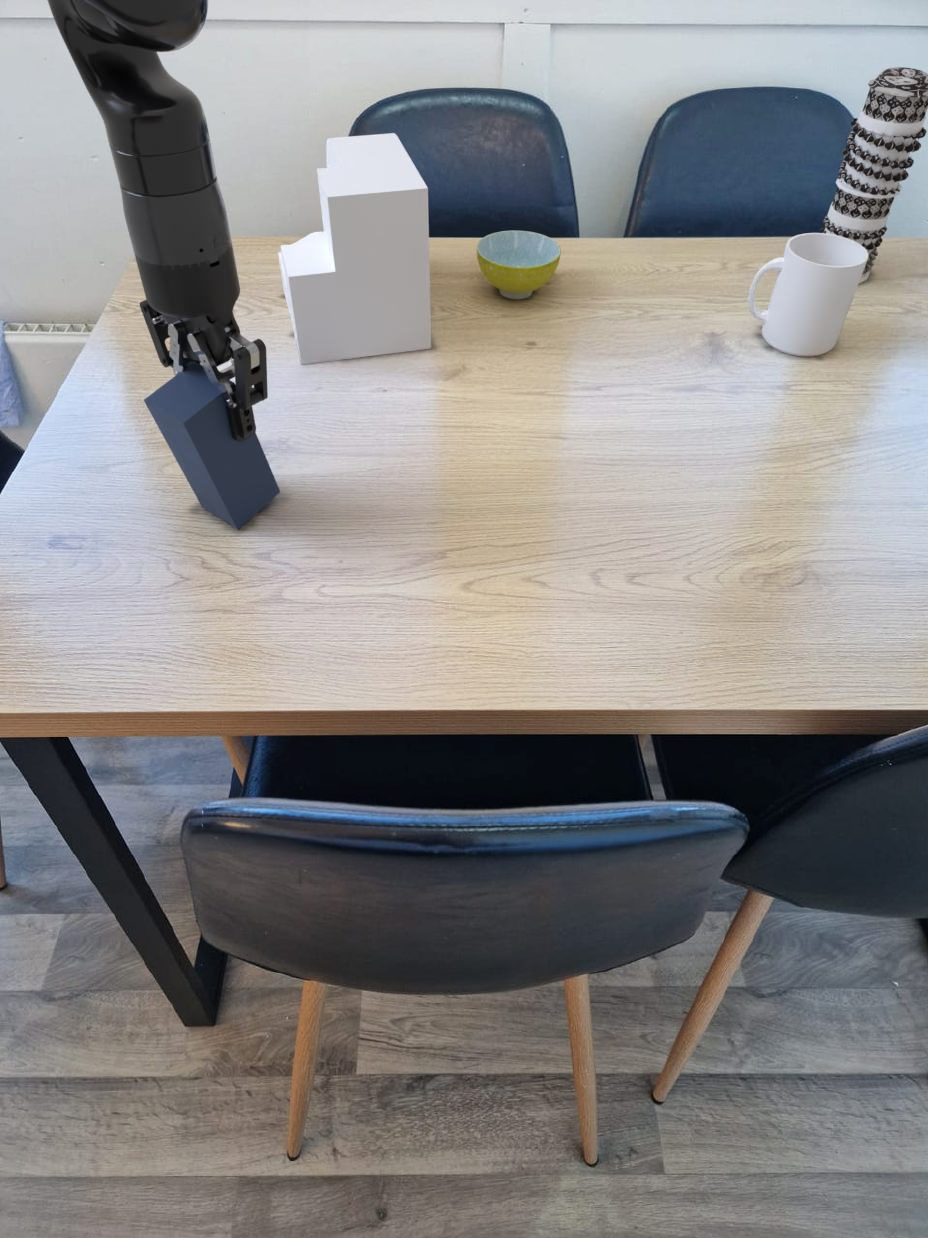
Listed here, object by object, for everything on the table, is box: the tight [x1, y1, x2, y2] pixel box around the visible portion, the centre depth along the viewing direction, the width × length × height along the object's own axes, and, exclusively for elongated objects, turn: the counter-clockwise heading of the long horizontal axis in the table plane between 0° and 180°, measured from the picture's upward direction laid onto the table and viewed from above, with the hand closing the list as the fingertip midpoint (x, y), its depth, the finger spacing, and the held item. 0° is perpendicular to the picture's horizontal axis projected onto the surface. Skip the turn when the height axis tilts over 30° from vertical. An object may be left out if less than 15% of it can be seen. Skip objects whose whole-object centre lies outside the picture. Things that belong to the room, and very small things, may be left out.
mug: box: [747, 232, 868, 358], centre depth 104 cm, size 10×12×12 cm
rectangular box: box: [143, 362, 281, 531], centre depth 78 cm, size 14×6×6 cm
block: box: [277, 132, 432, 365], centre depth 105 cm, size 25×16×19 cm, turn 15°
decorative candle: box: [819, 66, 928, 284], centre depth 112 cm, size 9×9×25 cm
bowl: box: [476, 230, 562, 300], centre depth 114 cm, size 11×12×6 cm
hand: (222, 424), depth 77 cm, fingers closed on rectangular box, 5 cm apart
